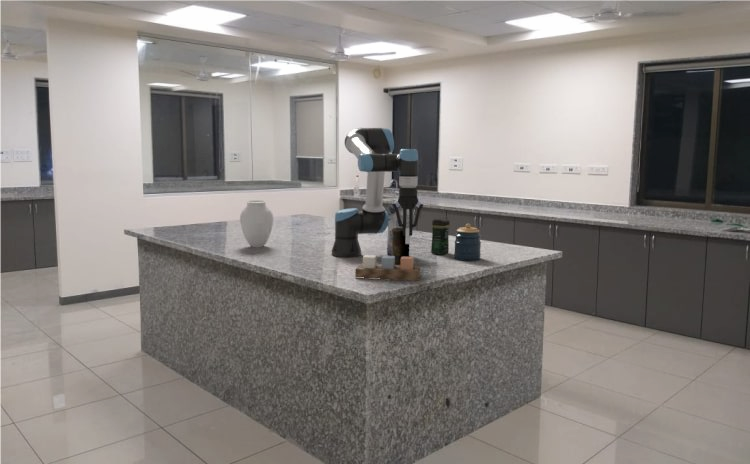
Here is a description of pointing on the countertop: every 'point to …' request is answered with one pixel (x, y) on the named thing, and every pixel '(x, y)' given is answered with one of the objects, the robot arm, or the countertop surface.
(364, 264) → the ivory key
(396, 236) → the container
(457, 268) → the countertop surface
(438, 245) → the coffee jar
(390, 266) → the slate key
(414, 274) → the key panel
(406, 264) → the terracotta key
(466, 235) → the canister
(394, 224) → the juice carton
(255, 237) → the vase
